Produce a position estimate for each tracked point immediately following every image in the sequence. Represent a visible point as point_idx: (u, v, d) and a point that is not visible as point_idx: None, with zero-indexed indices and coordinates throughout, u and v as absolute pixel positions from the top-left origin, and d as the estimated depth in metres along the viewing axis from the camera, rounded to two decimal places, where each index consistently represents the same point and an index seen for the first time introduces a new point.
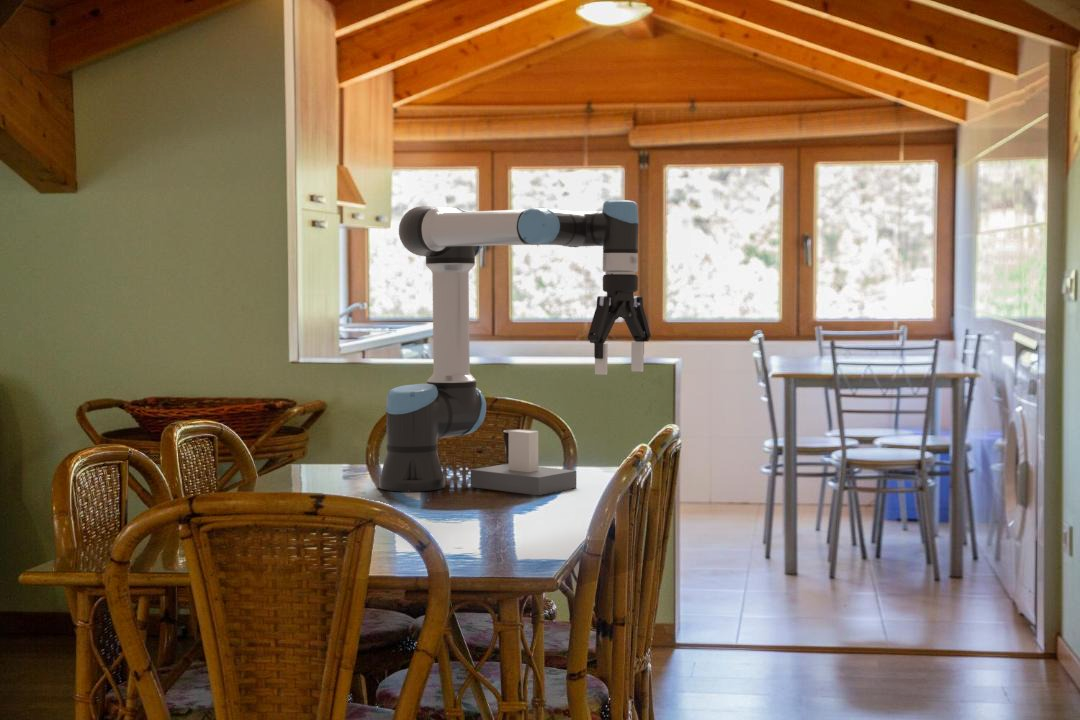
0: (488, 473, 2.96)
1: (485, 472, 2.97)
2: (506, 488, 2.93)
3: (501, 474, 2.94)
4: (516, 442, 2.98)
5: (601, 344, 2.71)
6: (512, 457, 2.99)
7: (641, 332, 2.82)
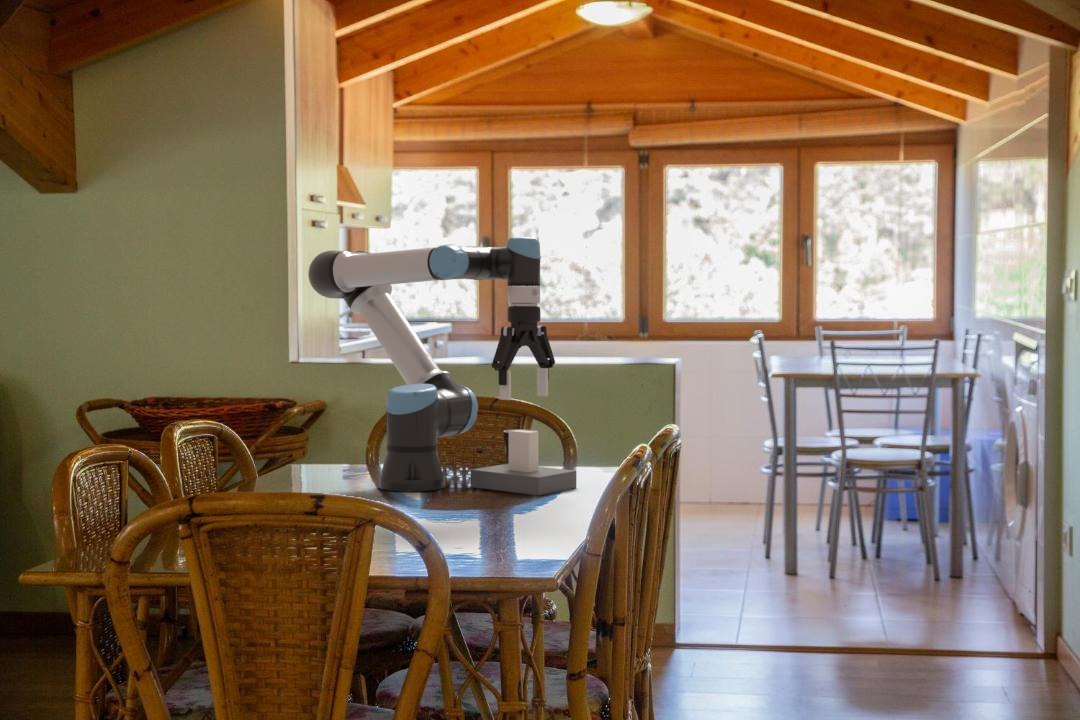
0: (488, 473, 2.96)
1: (485, 472, 2.97)
2: (506, 488, 2.93)
3: (501, 474, 2.94)
4: (516, 442, 2.98)
5: (505, 371, 2.91)
6: (512, 457, 2.99)
7: (545, 359, 3.02)
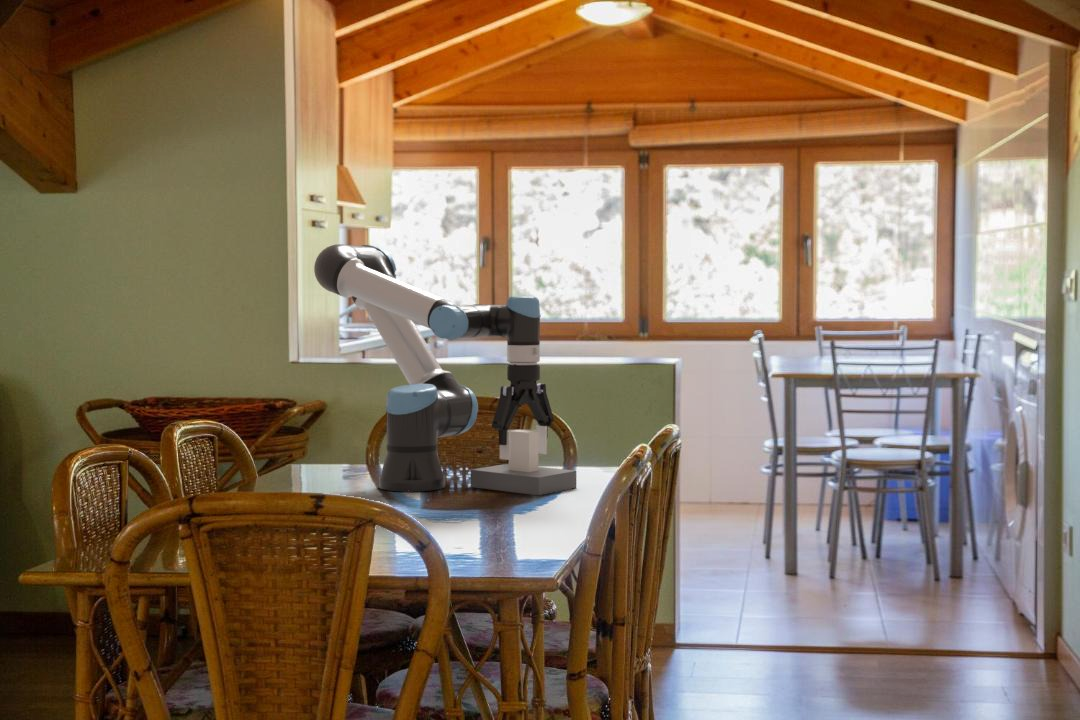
0: (488, 473, 2.96)
1: (485, 472, 2.97)
2: (506, 488, 2.93)
3: (501, 474, 2.94)
4: (516, 442, 2.98)
5: (505, 431, 2.92)
6: (512, 457, 2.99)
7: (544, 417, 3.03)
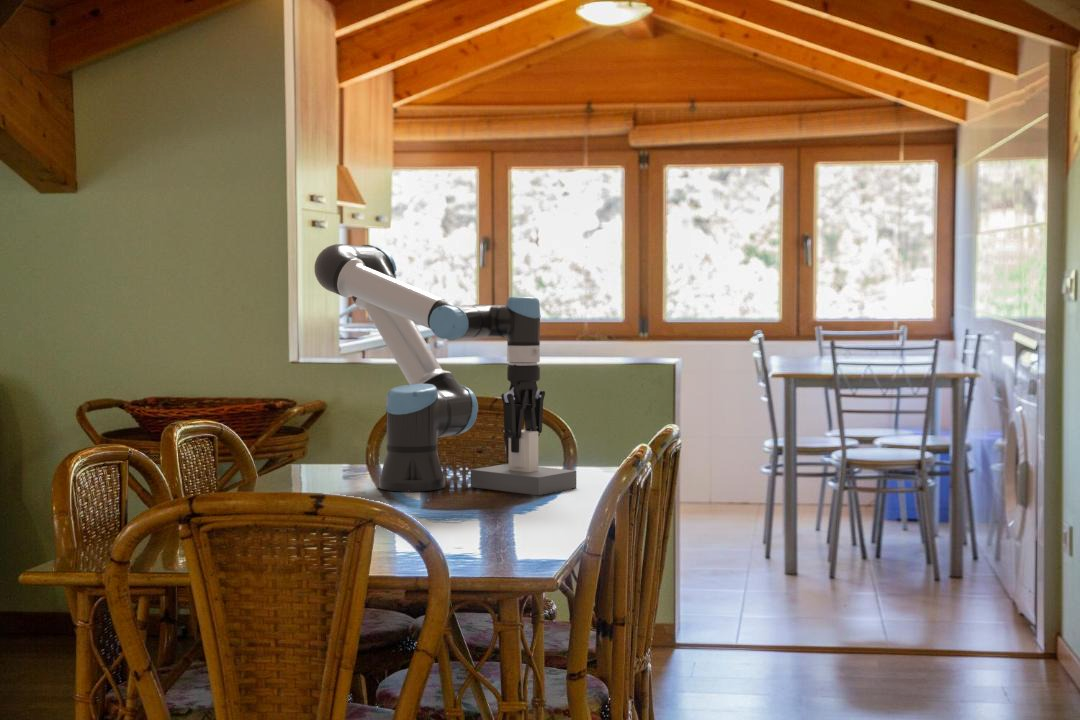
0: (488, 473, 2.96)
1: (485, 472, 2.97)
2: (506, 488, 2.93)
3: (501, 474, 2.94)
4: None
5: (518, 439, 2.96)
6: None
7: (534, 426, 3.00)
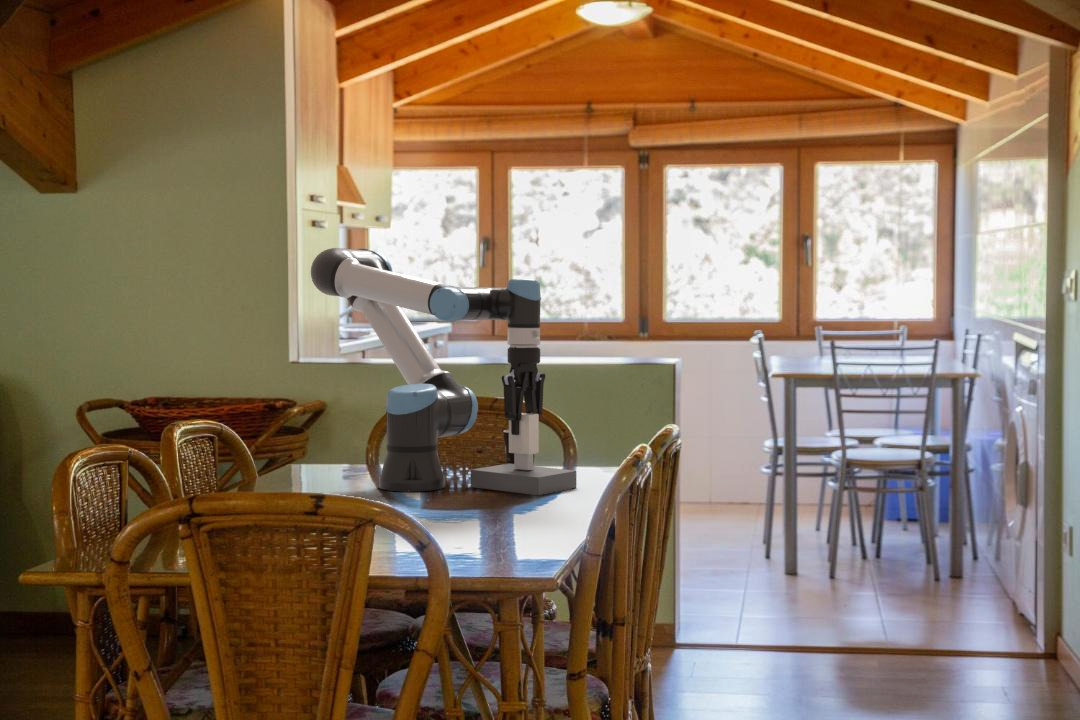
0: (488, 473, 2.96)
1: (485, 472, 2.97)
2: (506, 488, 2.93)
3: (501, 474, 2.94)
4: None
5: (518, 421, 2.96)
6: None
7: (534, 408, 3.00)
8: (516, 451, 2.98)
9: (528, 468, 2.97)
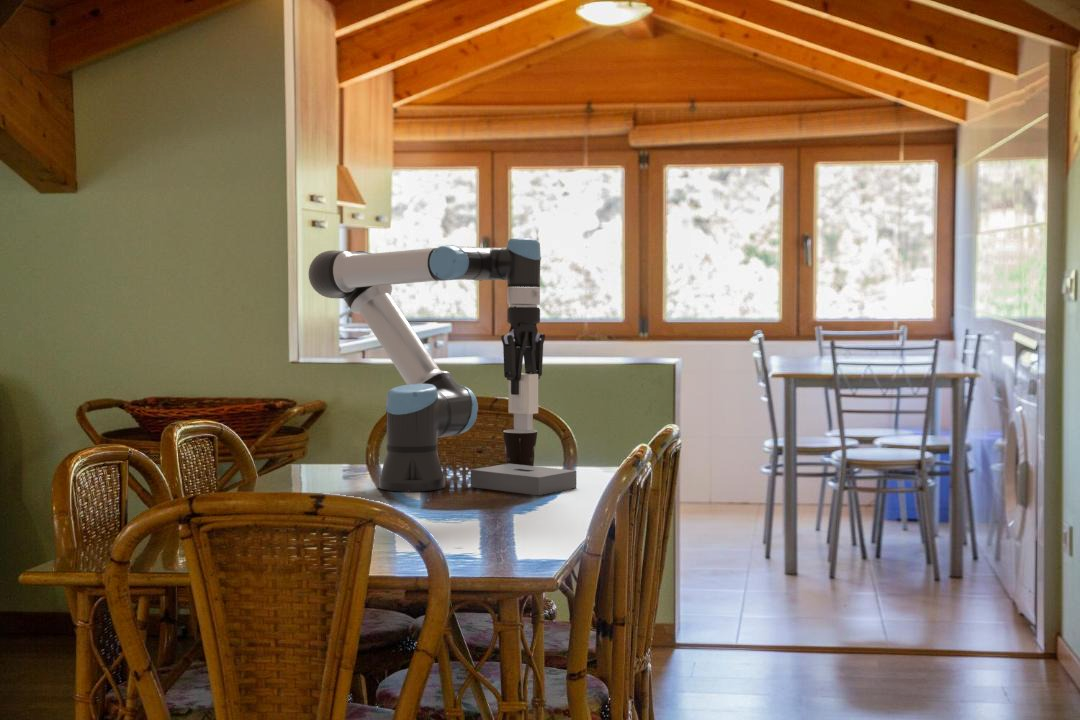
0: (488, 473, 2.96)
1: (485, 472, 2.97)
2: (506, 488, 2.93)
3: (501, 474, 2.94)
4: None
5: (518, 381, 2.95)
6: None
7: (534, 369, 2.99)
8: (516, 411, 2.97)
9: (528, 428, 2.97)
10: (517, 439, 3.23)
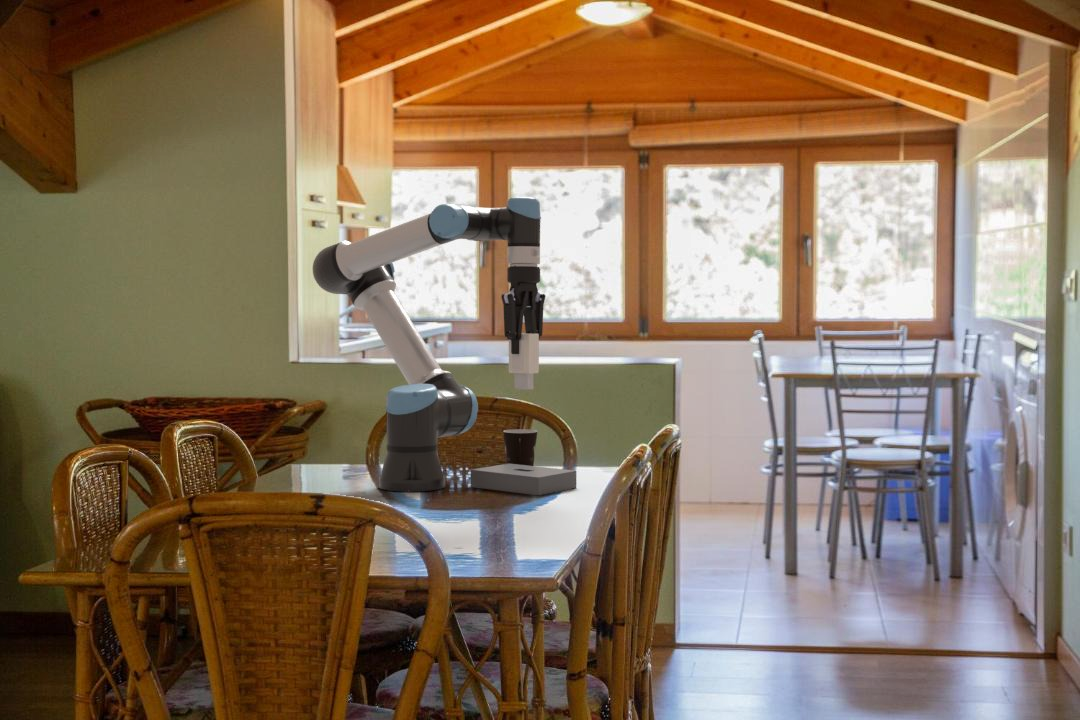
0: (488, 473, 2.96)
1: (485, 472, 2.97)
2: (506, 488, 2.93)
3: (501, 474, 2.94)
4: None
5: (518, 340, 2.95)
6: None
7: (534, 329, 2.99)
8: (516, 371, 2.97)
9: (528, 388, 2.96)
10: (517, 439, 3.23)
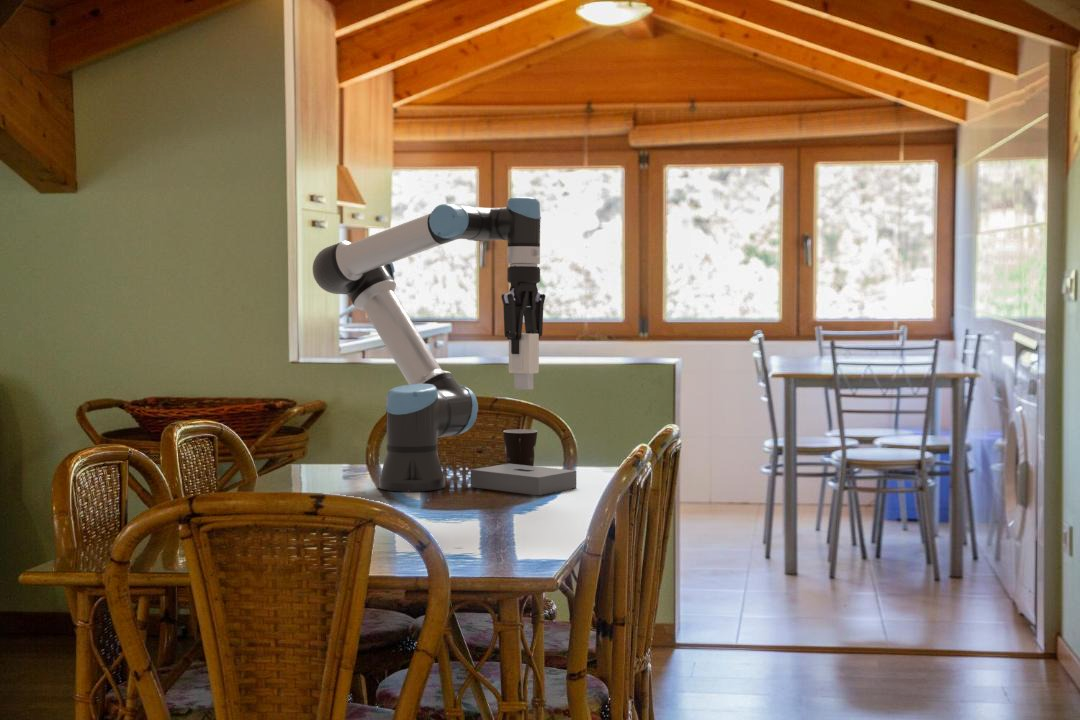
0: (488, 473, 2.96)
1: (485, 472, 2.97)
2: (506, 488, 2.93)
3: (501, 474, 2.94)
4: None
5: (518, 340, 2.95)
6: None
7: (534, 329, 2.99)
8: (516, 371, 2.97)
9: (528, 388, 2.96)
10: (517, 439, 3.23)
